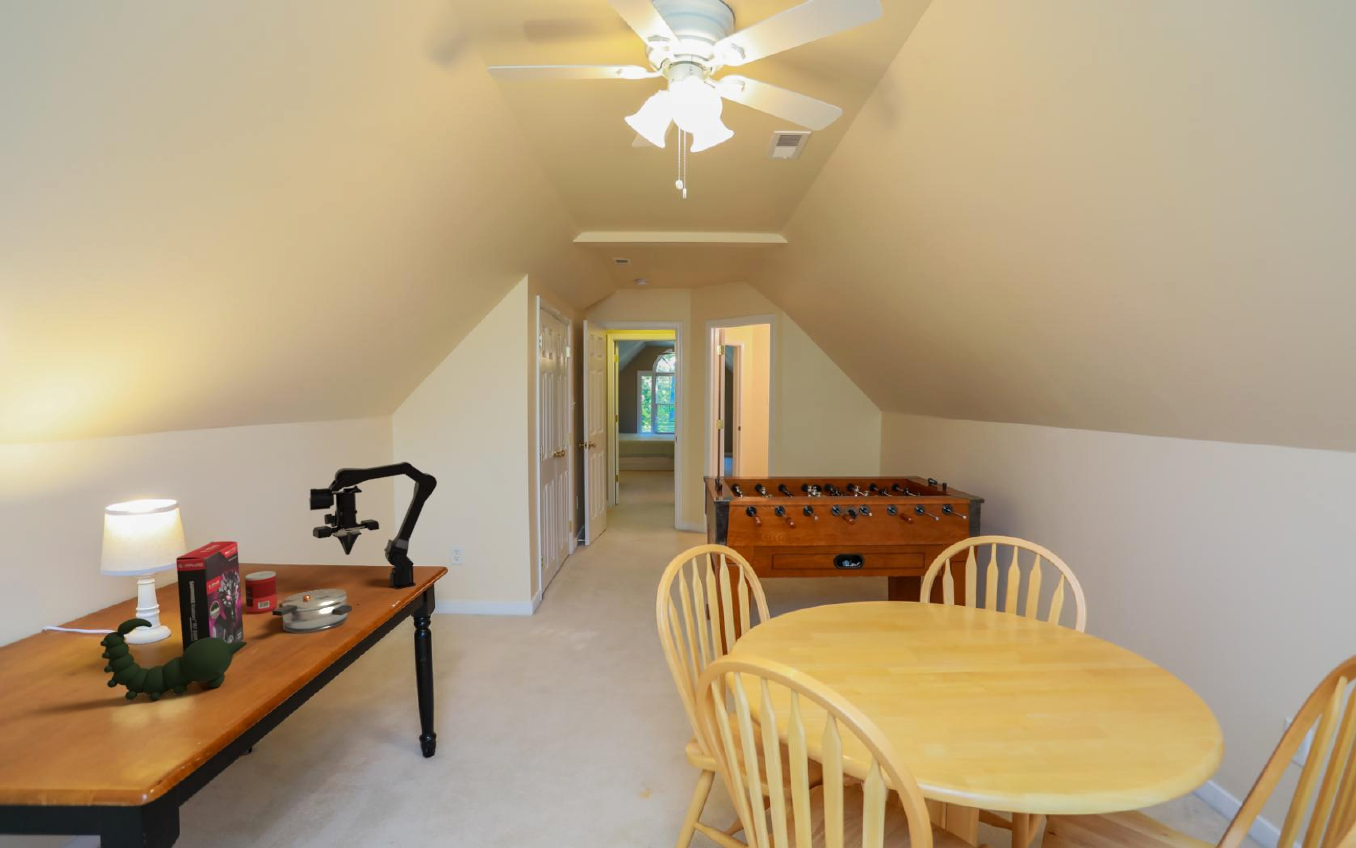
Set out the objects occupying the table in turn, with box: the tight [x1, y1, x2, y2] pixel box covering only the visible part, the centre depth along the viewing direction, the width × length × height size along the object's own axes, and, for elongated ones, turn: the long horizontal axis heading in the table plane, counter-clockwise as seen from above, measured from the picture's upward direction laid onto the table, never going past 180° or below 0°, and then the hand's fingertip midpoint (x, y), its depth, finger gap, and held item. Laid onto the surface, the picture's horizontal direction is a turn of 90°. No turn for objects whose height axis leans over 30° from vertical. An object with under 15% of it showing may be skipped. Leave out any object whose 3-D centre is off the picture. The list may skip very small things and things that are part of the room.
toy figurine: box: [99, 617, 248, 702], centre depth 143 cm, size 9×19×25 cm
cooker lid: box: [271, 588, 348, 617], centre depth 183 cm, size 21×16×3 cm
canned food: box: [244, 570, 278, 615], centre depth 197 cm, size 8×8×11 cm
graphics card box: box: [175, 540, 245, 654], centre depth 163 cm, size 17×7×27 cm, turn 12°
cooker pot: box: [278, 598, 353, 634], centre depth 186 cm, size 16×22×6 cm
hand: (347, 554), depth 212 cm, fingers closed
